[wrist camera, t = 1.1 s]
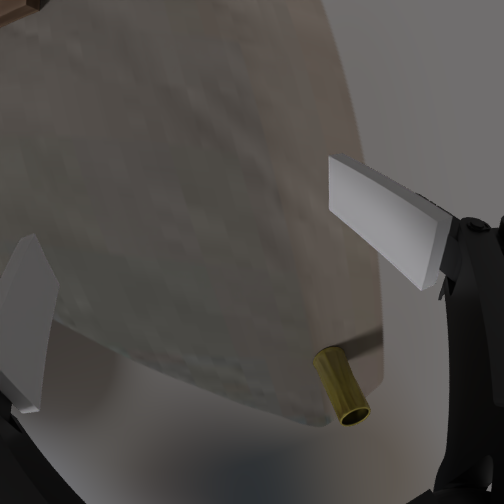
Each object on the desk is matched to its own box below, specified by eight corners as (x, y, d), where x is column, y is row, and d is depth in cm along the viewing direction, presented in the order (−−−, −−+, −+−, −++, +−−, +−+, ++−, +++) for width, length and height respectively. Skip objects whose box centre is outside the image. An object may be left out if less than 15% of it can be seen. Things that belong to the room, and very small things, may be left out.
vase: (343, 364, 58) (371, 420, 46) (313, 372, 58) (336, 432, 45) (344, 342, 56) (375, 400, 43) (312, 351, 55) (338, 413, 43)
